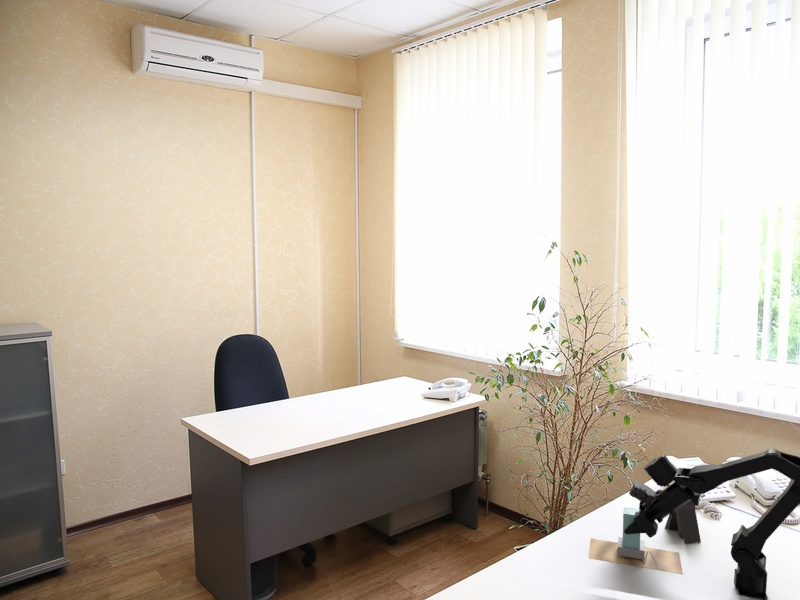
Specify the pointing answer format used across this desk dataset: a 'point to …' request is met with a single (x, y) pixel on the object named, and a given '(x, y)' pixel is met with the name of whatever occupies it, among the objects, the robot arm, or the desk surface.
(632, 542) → the block
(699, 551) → the desk surface
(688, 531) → the phone stand
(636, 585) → the desk surface
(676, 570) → the oak board
